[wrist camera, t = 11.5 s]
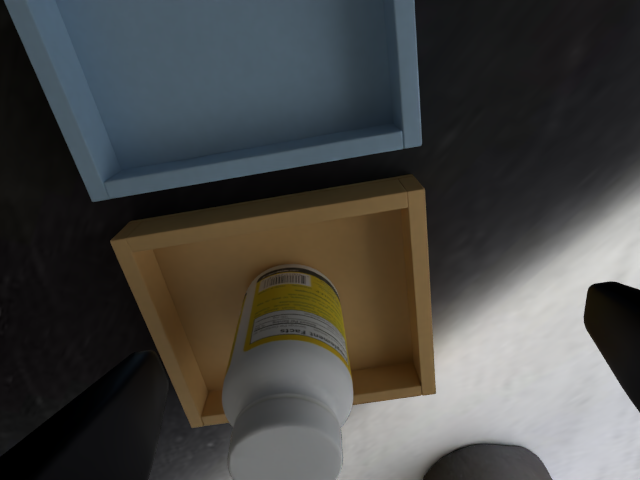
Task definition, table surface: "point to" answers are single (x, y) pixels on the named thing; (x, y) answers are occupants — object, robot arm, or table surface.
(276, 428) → the supplement bottle
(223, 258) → the tray
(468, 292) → the table surface
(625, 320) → the robot arm
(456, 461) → the pillar candle
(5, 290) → the table surface
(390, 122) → the tray
